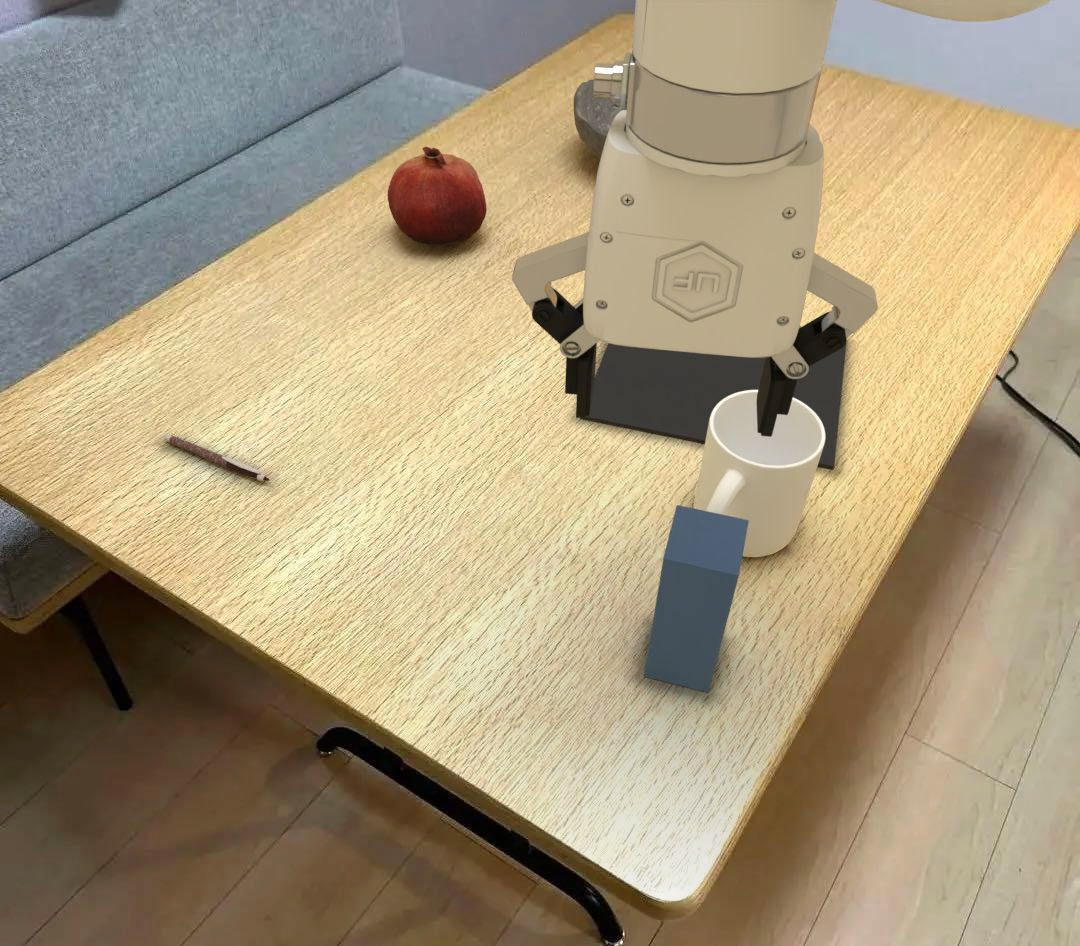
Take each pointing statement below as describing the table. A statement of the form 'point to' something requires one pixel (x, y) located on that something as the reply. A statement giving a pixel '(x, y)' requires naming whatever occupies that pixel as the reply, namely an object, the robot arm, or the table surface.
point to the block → (694, 596)
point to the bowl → (593, 117)
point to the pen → (218, 458)
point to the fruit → (437, 198)
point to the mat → (700, 391)
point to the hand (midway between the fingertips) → (673, 409)
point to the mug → (759, 469)
